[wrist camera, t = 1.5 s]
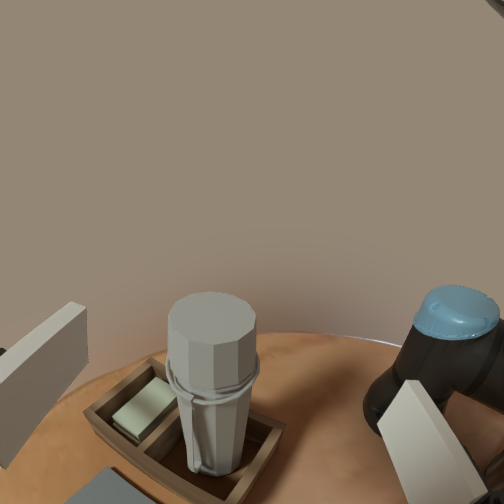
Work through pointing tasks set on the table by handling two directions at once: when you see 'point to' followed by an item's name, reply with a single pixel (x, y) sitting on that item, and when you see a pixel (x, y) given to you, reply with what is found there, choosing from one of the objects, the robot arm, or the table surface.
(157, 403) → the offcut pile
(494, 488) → the plant pot
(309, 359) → the table surface
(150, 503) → the slate mat
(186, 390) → the water bottle
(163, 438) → the walnut divided tray
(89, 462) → the table surface
